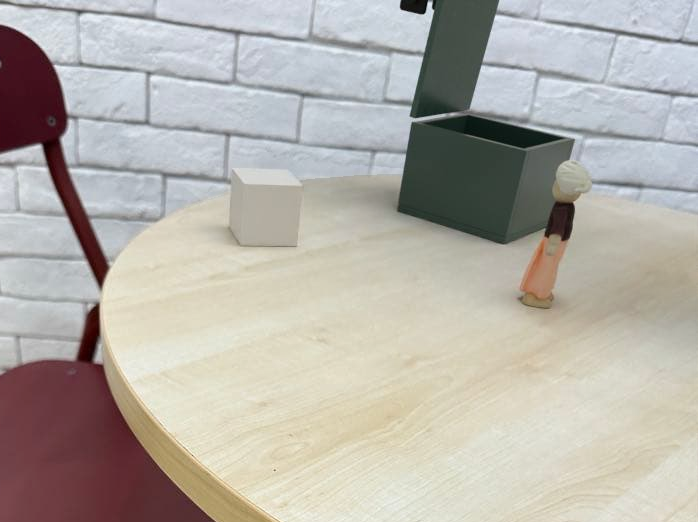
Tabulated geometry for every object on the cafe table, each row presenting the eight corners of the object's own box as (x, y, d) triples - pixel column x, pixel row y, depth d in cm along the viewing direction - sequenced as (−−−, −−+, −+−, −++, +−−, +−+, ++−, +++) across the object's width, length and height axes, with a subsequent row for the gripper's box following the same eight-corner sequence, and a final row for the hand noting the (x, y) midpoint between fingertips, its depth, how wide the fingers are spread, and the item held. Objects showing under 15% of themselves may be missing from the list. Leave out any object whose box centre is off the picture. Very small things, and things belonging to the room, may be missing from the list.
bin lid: (510, -41, 94) (471, -51, 96) (453, -45, 86) (412, -56, 88) (469, 109, 104) (435, 97, 106) (414, 118, 96) (378, 105, 98)
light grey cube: (297, 246, 88) (303, 185, 84) (240, 246, 86) (244, 184, 82) (282, 227, 92) (287, 169, 88) (228, 226, 90) (231, 167, 87)
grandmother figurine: (516, 284, 85) (551, 148, 77) (554, 291, 84) (594, 155, 77) (516, 312, 79) (555, 167, 71) (558, 319, 78) (601, 174, 71)
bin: (551, 225, 104) (575, 138, 98) (503, 244, 95) (526, 151, 90) (449, 195, 110) (466, 112, 105) (396, 210, 102) (411, 121, 96)
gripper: (457, -208, 78) (415, 19, 89) (539, -180, 89) (492, 18, 100) (391, -214, 81) (357, 5, 92) (478, -187, 92) (439, 6, 103)
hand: (428, 10), depth 96 cm, fingers closed on bin lid, 6 cm apart
